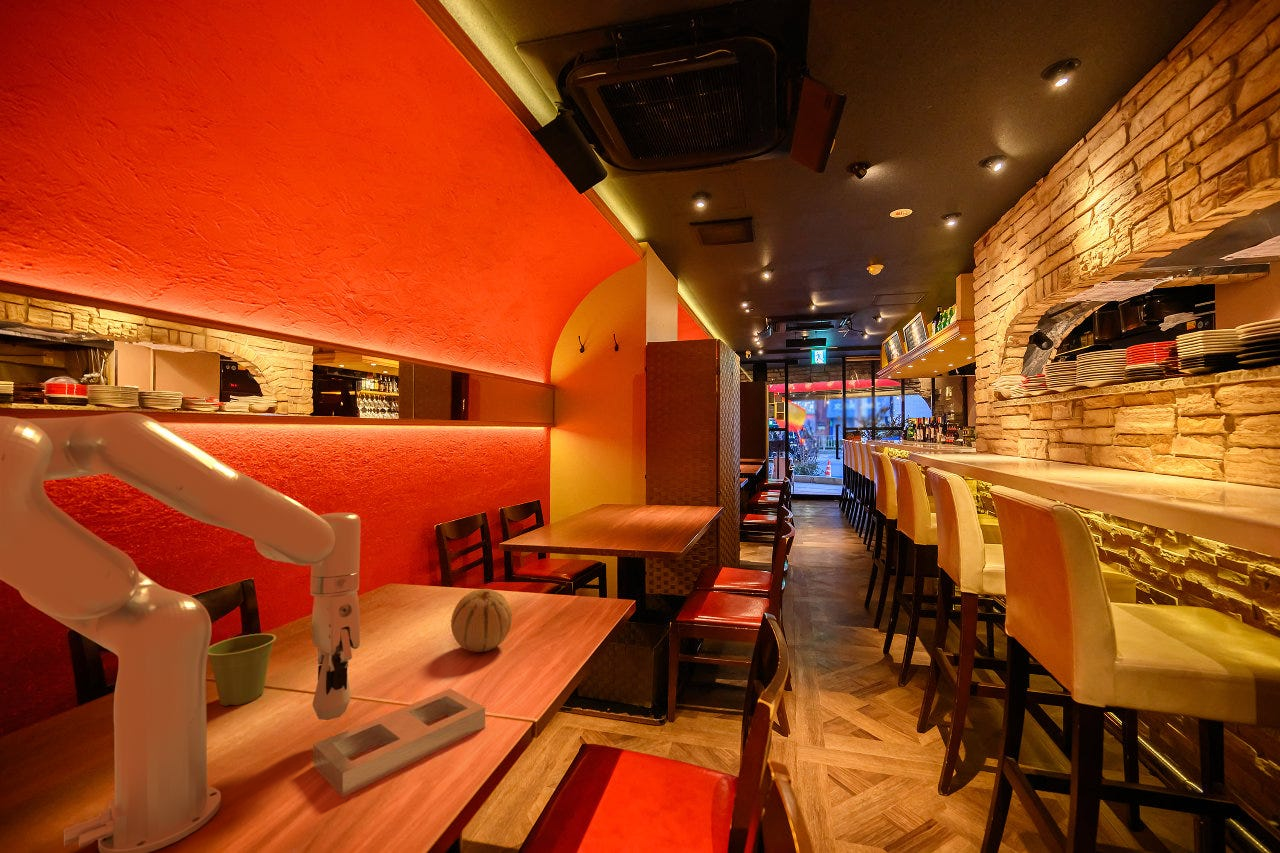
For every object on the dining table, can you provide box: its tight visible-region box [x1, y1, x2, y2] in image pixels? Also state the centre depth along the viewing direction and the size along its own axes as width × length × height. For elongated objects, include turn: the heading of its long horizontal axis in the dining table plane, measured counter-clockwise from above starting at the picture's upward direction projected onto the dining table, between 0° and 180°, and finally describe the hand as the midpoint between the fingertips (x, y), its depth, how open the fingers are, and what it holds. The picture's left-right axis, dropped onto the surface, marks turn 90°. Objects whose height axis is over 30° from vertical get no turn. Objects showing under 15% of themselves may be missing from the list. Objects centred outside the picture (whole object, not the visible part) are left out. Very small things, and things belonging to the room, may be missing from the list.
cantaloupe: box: [450, 588, 513, 653], centre depth 133 cm, size 15×15×15 cm
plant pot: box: [208, 633, 277, 707], centre depth 110 cm, size 12×12×11 cm
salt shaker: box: [312, 647, 352, 721], centre depth 94 cm, size 6×6×13 cm
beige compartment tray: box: [312, 688, 486, 798], centre depth 91 cm, size 24×12×4 cm, turn 139°
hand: (332, 688), depth 94 cm, fingers closed on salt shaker, 3 cm apart
